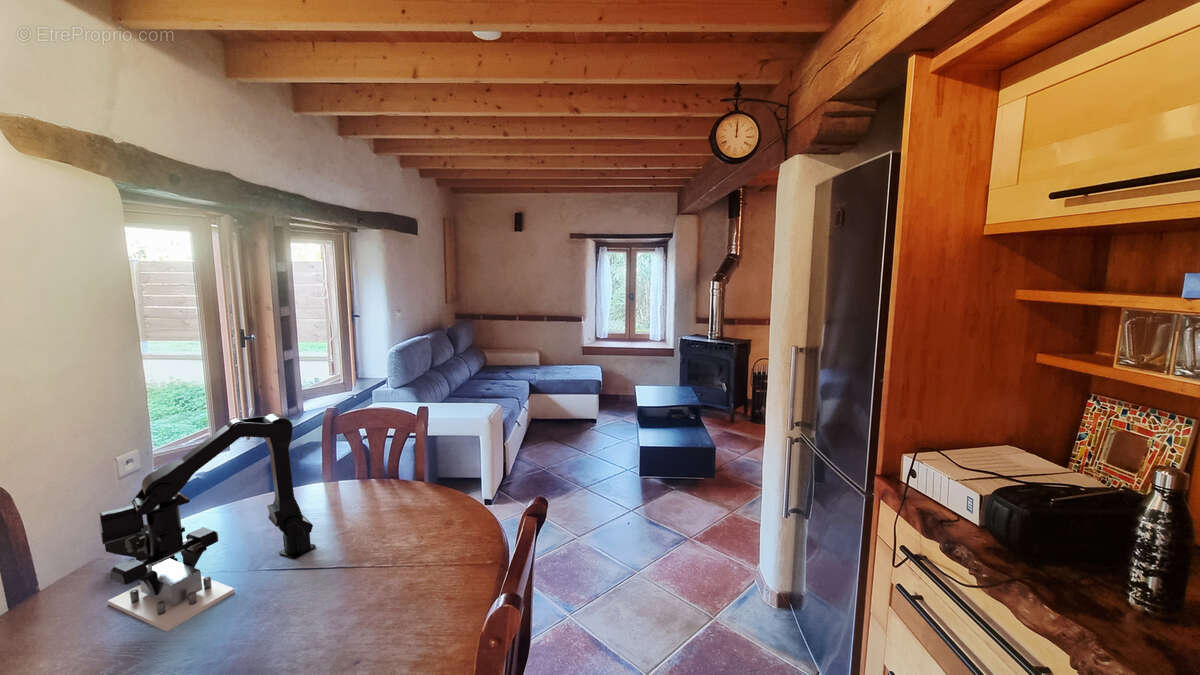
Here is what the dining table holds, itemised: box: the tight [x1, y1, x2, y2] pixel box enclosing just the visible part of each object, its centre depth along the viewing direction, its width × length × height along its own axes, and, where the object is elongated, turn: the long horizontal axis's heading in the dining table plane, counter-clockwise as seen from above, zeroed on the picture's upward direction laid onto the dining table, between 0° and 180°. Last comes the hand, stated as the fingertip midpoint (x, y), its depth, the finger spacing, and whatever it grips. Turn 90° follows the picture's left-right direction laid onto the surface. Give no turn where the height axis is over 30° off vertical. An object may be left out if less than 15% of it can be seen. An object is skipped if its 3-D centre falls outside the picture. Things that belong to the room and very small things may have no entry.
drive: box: [139, 559, 202, 605], centre depth 115 cm, size 12×6×5 cm, turn 69°
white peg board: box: [107, 575, 235, 633], centre depth 115 cm, size 22×14×4 cm, turn 69°
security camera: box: [104, 524, 182, 566], centre depth 127 cm, size 7×18×10 cm, turn 78°
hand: (171, 586), depth 115 cm, fingers closed on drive, 6 cm apart
